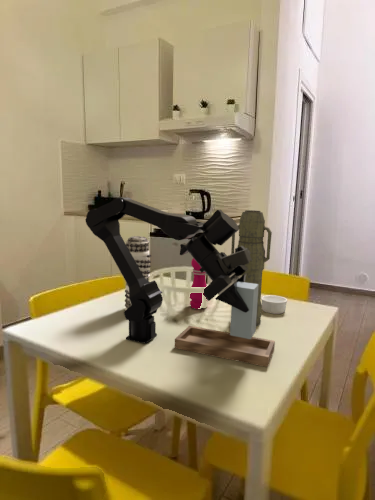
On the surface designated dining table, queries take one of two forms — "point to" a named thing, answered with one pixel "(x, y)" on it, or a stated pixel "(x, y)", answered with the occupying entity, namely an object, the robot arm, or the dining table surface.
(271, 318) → the dining table surface
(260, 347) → the wooden tray
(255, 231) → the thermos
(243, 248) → the robot arm
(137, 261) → the decorative candle
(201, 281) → the pepper mill
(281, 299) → the ramekin
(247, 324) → the slate post
